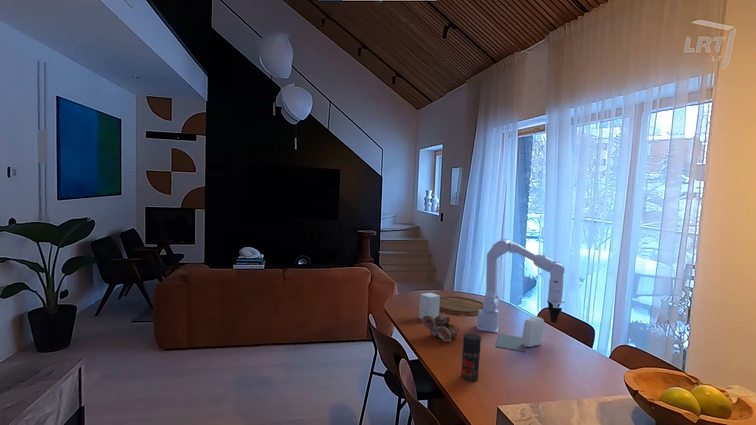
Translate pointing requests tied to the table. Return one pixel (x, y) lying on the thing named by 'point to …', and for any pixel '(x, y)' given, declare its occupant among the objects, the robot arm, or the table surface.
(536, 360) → the table surface
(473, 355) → the deodorant
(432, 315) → the supplement box
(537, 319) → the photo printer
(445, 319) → the seed pod
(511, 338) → the mat
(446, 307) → the cutting board
